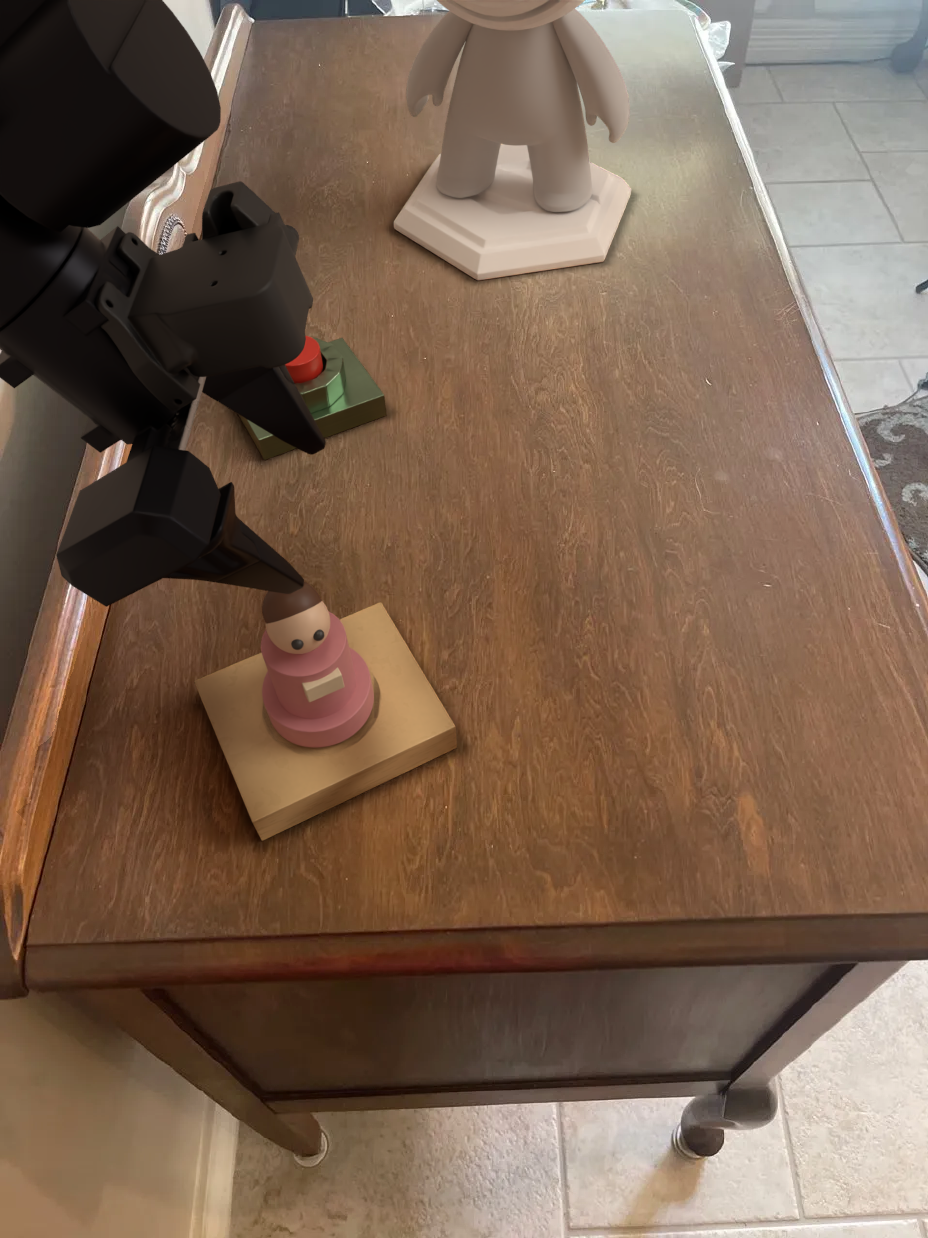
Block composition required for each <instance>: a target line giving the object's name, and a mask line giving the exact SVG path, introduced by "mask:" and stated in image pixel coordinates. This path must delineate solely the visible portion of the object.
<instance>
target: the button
mask: <svg viewBox="0 0 928 1238" xmlns="http://www.w3.org/2000/svg"><path fill="white" fill-rule="evenodd" d="M305 336H306V341H305V346H304V349H303V351H302V352H301V353H300V355H299V356H298V357H297V358H296V359H294V360H293V361H291V362H289V363H287V364H285V365H286V368H287V370H288V372H289V374H290V375H291V377H292V379H293V381H294V383H303V382H306V381H309V380H312V379H315V378H317V377H318V376H319V375H320V374H321V372H322V369H323V362H322V357H321V352H320V346H319V344H318V342H317V341H316V340H315V339H313V338H314V337H311V336H309V335H305Z"/></svg>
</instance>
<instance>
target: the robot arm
mask: <svg viewBox="0 0 928 1238" xmlns="http://www.w3.org/2000/svg"><path fill="white" fill-rule="evenodd" d="M221 113H222V107H221V102H220V98H219V94H218V90H217V87H216V84H215V82H214V79H213V76H212V73H211V71H210V69H209V67H208V65H207V63H206V62H205V59H204V57H203V55H202V53H201V51H200V50H199V48H198V47H197V45H196V43H195V41H194V40H193V39H192V37H191V35H190V34H189V32H188V31H187V29H186V28H185V26H183V24H182V22H181V21H180V20H179V19H178V16H176V15H175V13H174V12H173V10H172V9H171V8H170V7H169V6H168V5H167V4H166V3H165V1H164V0H0V351H1V352H0V379H1V381H4V382H5V383H7V385H9V386H10V387H12V388H13V389H16V388H18V387H19V386H20V385H22V384H23V383H24V382H25V381H27V380H28V379H30V378H31V377H33V376H34V377H35V378H36V379H38V380H39V381H40V382H41V383H43V384H44V385H45V386H46V387H48V388H49V389H50V390H52V391H53V392H55V393H56V394H57V395H59V396H60V397H61V398H62V399H63V400H65V401H66V402H68V403H69V404H70V406H73V407H74V408H75V409H77V410H78V411H79V412H80V413H82V414H83V415H84V416H85V417H87V420H86V423H85V425H84V428H83V430H82V433H81V435H80V439H81V440H82V441H84V442H85V443H86V444H88V445H89V446H90V447H92V448H93V449H94V450H96V451H98V452H99V453H100V454H101V453H102V452H104V451H106V450H108V449H109V448H111V447H112V446H114V445H115V444H117V443H119V442H120V441H122V442H123V443H124V444H126V445H128V446H129V445H131V447H130V451H129V453H128V455H127V459H126V462H124V463H122V464H121V465H120V466H118V467H116V468H115V469H113V470H111V471H110V472H108V473H106V474H105V475H103V476H102V477H101V476H100V478H98V479H96V480H95V481H93V482H91V483H90V484H88V485H86V486H85V487H84V488H83V487H82V488H81V489H80V490H79V492H78V494H77V497H76V500H75V502H74V505H73V508H72V511H71V514H70V516H69V519H68V522H67V525H66V527H65V530H64V533H63V535H62V538H61V540H60V544H59V547H58V549H57V552H56V560H57V563H58V567H59V571H60V575H61V577H62V578H63V579H64V580H65V582H67V583H68V584H69V585H71V586H72V587H73V588H75V589H77V590H78V591H80V592H81V593H83V594H84V595H86V596H87V597H90V598H91V599H92V600H94V601H96V602H97V603H99V604H101V605H103V606H104V607H106V608H107V607H109V606H111V605H113V604H115V603H117V602H119V601H121V600H122V599H125V598H127V597H129V596H131V595H133V594H135V593H137V592H139V591H141V590H143V589H144V588H147V587H148V586H150V585H152V584H154V583H157V582H158V581H161V580H162V579H171V580H173V579H174V580H191V581H192V580H193V581H201V582H209V583H216V584H223V585H227V586H228V585H229V586H235V587H242V588H248V589H254V590H259V591H266V592H268V591H272V592H278V593H284V594H290V593H293V592H295V591H297V590H299V589H301V588H303V586H304V582H305V578H304V577H303V576H302V575H301V574H300V573H299V572H298V571H297V570H296V568H295V567H293V565H292V564H291V563H290V562H289V561H288V560H287V559H286V558H285V557H284V556H282V555H281V554H280V553H279V552H278V551H277V550H276V549H274V548H273V547H272V546H271V545H270V544H268V543H267V542H266V541H265V540H264V539H263V538H262V537H261V536H259V534H257V533H256V532H255V531H254V530H252V529H251V527H249V526H248V525H247V524H246V523H245V522H244V521H242V520H241V519H240V518H239V517H238V515H237V514H236V513H237V512H236V497H235V495H236V494H235V493H236V492H235V485H234V483H233V482H232V481H230V482H228V483H227V484H224V485H223V486H221V487H218V484H217V482H216V479H215V478H214V474H213V473H212V471H211V468H210V466H208V465H206V463H204V462H203V461H202V460H201V459H199V458H198V457H197V456H196V455H194V454H193V453H192V452H190V451H189V450H186V449H187V446H188V444H189V443H188V442H189V439H190V435H191V432H192V428H193V425H194V421H195V418H196V414H197V411H198V407H199V404H200V400H201V397H202V394H203V395H206V396H208V397H209V398H210V399H213V401H216V402H218V403H219V404H221V405H223V406H224V407H226V408H227V409H230V411H232V412H234V413H236V414H237V415H238V414H239V415H241V416H242V417H244V418H246V419H247V420H249V421H251V422H252V423H254V424H256V425H257V426H259V427H260V428H262V429H264V430H265V431H267V432H269V433H270V434H272V435H274V436H275V437H277V438H279V439H280V440H282V441H284V442H285V443H287V444H289V445H291V446H293V447H295V448H296V449H298V450H300V451H302V452H304V453H305V454H308V455H309V456H311V455H315V454H317V453H319V452H320V451H321V452H322V451H323V450H324V449H325V448H326V443H327V441H326V439H325V438H324V437H323V435H322V433H321V431H320V429H319V427H318V426H317V424H316V422H315V420H314V418H313V416H312V414H311V413H310V411H309V409H308V407H307V405H306V403H305V402H304V400H303V398H302V396H301V394H300V392H299V390H298V389H297V387H296V385H295V383H294V381H293V379H292V377H291V375H290V374H289V372H288V370H287V368H286V365H285V364H287V363H289V362H291V361H293V360H294V359H296V358H297V357H298V356H299V355H300V353H301V352H302V351H303V349H304V346H305V341H306V336H307V335H306V328H307V327H306V326H307V322H308V317H309V312H310V309H312V308H313V304H314V296H313V295H312V292H311V290H310V288H309V285H308V283H307V281H306V279H305V276H304V274H303V272H302V269H301V267H300V265H299V263H298V260H297V258H296V256H297V250H298V246H299V243H300V234H299V231H298V230H297V228H295V227H293V226H292V225H289V224H285V222H284V220H283V218H282V215H281V214H280V212H275V211H274V210H273V209H272V207H270V206H269V205H268V204H267V202H265V201H264V200H263V199H262V198H261V197H260V196H259V195H257V194H256V193H255V192H254V191H253V190H252V189H251V188H250V187H249V186H247V184H246V183H244V182H243V181H241V180H239V181H236V182H232V183H228V184H224V185H219V186H215V187H213V188H211V189H210V190H209V191H208V196H207V197H206V201H205V204H204V206H203V209H202V210H203V211H202V213H201V239H199V237H198V235H197V234H196V232H191V233H187V234H186V235H185V238H184V241H183V243H182V246H181V247H179V248H177V249H174V250H171V251H167V252H164V253H162V254H160V253H158V252H156V251H155V250H153V249H152V248H150V247H149V246H148V245H147V244H146V243H145V242H144V241H143V240H142V239H141V238H139V236H138V235H137V234H135V233H134V232H131V231H128V232H125V231H123V229H122V228H121V227H120V226H119V225H117V226H116V227H115V228H113V229H112V230H111V231H110V232H108V233H106V235H105V236H103V237H102V238H101V239H100V238H99V237H98V236H96V235H95V233H93V232H92V231H91V230H90V228H94V227H99V226H101V225H102V224H104V223H105V222H106V221H107V220H109V219H110V218H111V217H112V216H114V215H115V214H116V213H117V212H118V211H120V210H121V209H122V208H123V207H124V206H126V205H127V204H128V203H129V202H131V201H132V200H134V199H135V197H137V196H139V194H141V193H142V192H143V191H145V190H146V189H147V188H148V187H149V186H151V185H152V184H153V183H155V181H157V180H158V179H160V178H161V177H162V176H163V175H164V174H165V173H167V172H168V171H169V170H170V169H172V168H173V167H174V166H175V165H177V164H178V163H179V162H181V161H182V160H183V159H184V158H185V157H186V156H188V155H189V154H190V153H191V152H192V151H194V150H195V149H196V148H197V147H199V146H200V145H201V144H203V142H205V141H206V140H208V139H209V138H210V137H211V136H212V135H213V134H214V133H215V132H217V131H218V130H219V127H220V125H221V120H222V118H221V116H222V115H221ZM239 415H238V416H239Z"/></svg>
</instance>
